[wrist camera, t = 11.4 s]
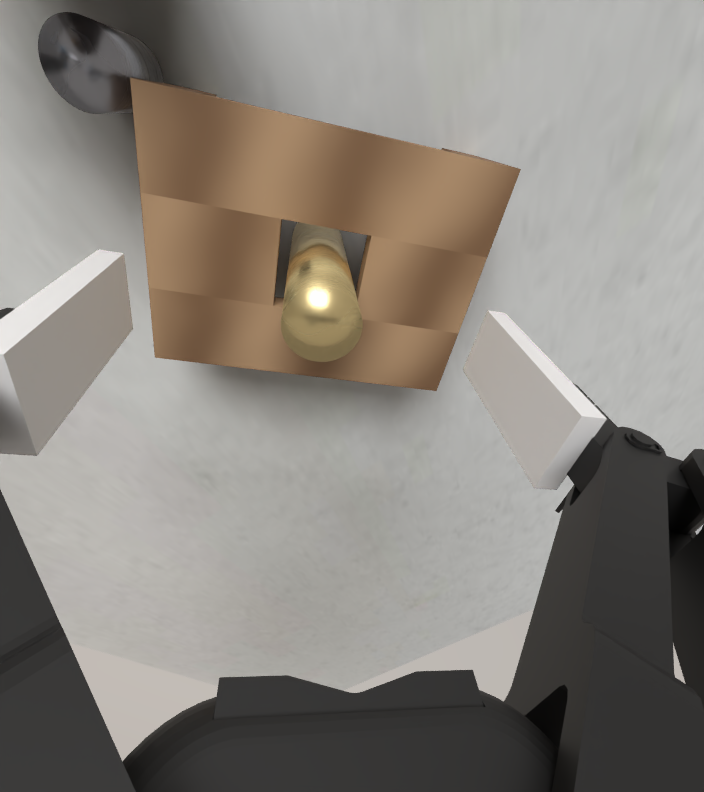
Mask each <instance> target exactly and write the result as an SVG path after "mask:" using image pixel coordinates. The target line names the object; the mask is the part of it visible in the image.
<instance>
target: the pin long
mask: <svg viewBox="0 0 704 792" xmlns="http://www.w3.org/2000/svg"><path fill="white" fill-rule="evenodd" d="M362 328H363V322H362V316H361V312H360V308H359V304H358V300H357V296H356V292H355V288H354V284H353V280H352V276H351V272H350V268H349V264H348V260H347V257H346V253H345V249H344V245H343V241H342V237H341V233H340V230H338V229H332V228H327V227H322V226H316V225H311V224H306V223H300V222H298V223H297V224H296V226H295V228H294V230H293V234H292V241H291V249H290V256H289V264H288V271H287V279H286V286H285V294H284V301H283V309H282V317H281V331H282V335H283V338H284V340H285V342H286V344H287V345H288V346H289V348H290V349H291V350H292V351H293V352H295V353H296V354H297V355H299V356H301V357H303V358H305V359H307V360H310V361H315V362H328V361H333V360H336V359H339V358H341V357H343V356H345V355H346V354H348V353H349V352H350V351H351V350H352V349H353V348H354V347H355V346H356V344H357V343H358V341H359V339H360V336H361V333H362Z"/></svg>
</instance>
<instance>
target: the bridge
mask: <svg viewBox="0 0 704 792" xmlns="http://www.w3.org/2000/svg"><path fill="white" fill-rule="evenodd" d="M130 83H131V94H132V105H133V117H134V128H135V139H136V150H137V161H138V173H139V184H140V195H141V206H142V217H143V229H144V240H145V251H146V262H147V273H148V285H149V296H150V307H151V318H152V330H153V341H154V352H155V357H156V358H164V359H173V360H181V361H189V362H198V363H206V364H214V365H223V366H231V367H240V368H248V369H256V370H265V371H273V372H281V373H290V374H298V375H307V376H315V377H323V378H332V379H340V380H348V381H357V382H365V383H374V384H382V385H390V386H399V387H407V388H415V389H424V390H432V391H437V388H438V385H439V383H440V380H441V377H442V375H443V372H444V370H445V367H446V364H447V362H448V359H449V356H450V354H451V351H452V349H453V346H454V343H455V341H456V338H457V335H458V333H459V330H460V327H461V325H462V322H463V320H464V317H465V314H466V312H467V309H468V306H469V304H470V301H471V299H472V296H473V293H474V291H475V288H476V285H477V283H478V280H479V278H480V275H481V272H482V270H483V267H484V264H485V262H486V259H487V257H488V254H489V251H490V249H491V246H492V243H493V241H494V238H495V236H496V233H497V230H498V228H499V225H500V222H501V220H502V217H503V214H504V212H505V209H506V207H507V204H508V201H509V199H510V196H511V193H512V191H513V188H514V186H515V183H516V180H517V178H518V175H519V172H520V170H521V169H518V168H515V167H511V166H508V165H505V164H501V163H498V162H494V161H491V160H488V159H484V158H481V157H477V156H474V155H469V154H465V153H461V152H457V151H452V150H448V149H444V148H442V150H439V149H435V148H431V147H427V146H422V145H418V144H414V143H410V142H405V141H401V140H397V139H393V138H388V137H384V136H380V135H376V134H371V133H367V132H363V131H359V130H354V129H350V128H346V127H342V126H337V125H333V124H329V123H325V122H320V121H316V120H312V119H307V118H303V117H299V116H295V115H290V114H286V113H282V112H278V111H273V110H269V109H265V108H261V107H256V106H252V105H248V104H244V103H239V102H235V101H231V100H227V99H222V98H218V97H216V95H215V94H211V93H206V92H202V91H198V90H194V89H190V88H185V87H181V86H177V85H172V84H166V83H160V82H154V81H148V80H142V79H136V78H130ZM282 219H284V220H290V221H295V222H300V223H306V224H311V225H316V226H322V227H327V228H332V229H338V230H343V231H348V232H354V233H359V234H364V235H367V239H366V244H365V249H364V254H363V258H362V263H361V268H360V273H359V278H358V282H357V287H356V296H357V300H358V304H359V308H360V312H361V316H362V322H363V328H362V333H361V336H360V339H359V341H358V343H357V344H356V346H355V347H354V348H353V349H352V350H351V351H350V352H349V353H348V354H346V355H345V356H343V357H341V358H339V359H336V360H333V361H328V362H315V361H310V360H307V359H305V358H303V357H301V356H299V355H297V354H296V353H295V352H293V351H292V350H291V349H290V348H289V346H288V345H287V344H286V342H285V340H284V338H283V335H282V331H281V317H282V309H283V301H284V298H278V297H275V288H276V278H277V267H278V256H279V245H280V235H281V224H282Z"/></svg>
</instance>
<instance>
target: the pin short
mask: <svg viewBox="0 0 704 792" xmlns="http://www.w3.org/2000/svg"><path fill="white" fill-rule="evenodd" d="M38 50H39V57H40V61H41V64H42V67H43V70H44V72H45V74H46V76H47V78H48V80H49V82H50V83H51V85H52V86H53V87H54V89H55V90H56V91H57V92H58V94H59V95H60V96H61V97H62V98H63V99H65V100H66V101H67V102H68V103H70V104H71V105H72V106H74V107H76V108H78V109H79V110H82V111H84V112H88V113H93V114H110V113H133V105H132V94H131V83H130V78H136V79H142V80H148V81H154V82H160V83H163V75H162V71H161V68H160V65H159V63H158V61H157V59H156V57H155V56H154V54H153V53H152V51H151V50H150V49H149V48H148V47H147V46H146V45H145V44H144V43H143V42H142V41H140V40H139V39H137V38H136V37H134V36H132V35H129V34H127V33H124V32H122V31H119V30H117V29H114V28H112V27H109V26H107V25H104V24H102V23H99V22H97V21H95V20H92V19H90V18H87V17H85V16H82V15H79V14H76V13H71V12H63V13H58V14H55V15H53V16H52V17H50V18H49V19H48V20H47V21H46V22H45V23H44V25H43V26H42V29H41V31H40V34H39V40H38Z"/></svg>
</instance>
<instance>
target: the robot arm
mask: <svg viewBox="0 0 704 792" xmlns="http://www.w3.org/2000/svg"><path fill="white" fill-rule="evenodd" d="M132 329H133V325H132V317H131V309H130V300H129V292H128V284H127V276H126V267H125V259H124V253H118V252H112V251H105V250H99V249H98V250H97V251H95V252H94V253H93V254H91V255H90V256H88V257H87V258H86V259H84V260H83V261H81V262H80V263H79V264H77V265H76V266H74V267H73V268H72V269H70V270H69V271H67V272H66V273H65V274H63V275H62V276H60V277H59V278H58V279H56V280H55V281H53V282H52V283H51V284H49V285H48V286H46V287H45V288H44V289H42V290H41V291H39V292H38V293H37V294H35V295H34V296H32V297H31V298H30V299H28V300H27V301H25V302H24V303H23V304H21V305H20V306H18V307H17V308H16V309H13V308H6V309H3V310H0V453H2V454H18V455H33V456H37V455H38V454H39V453H40V451H41V450H42V449H43V447H44V446H45V445H46V443H47V442H48V441H49V439H50V438H51V437H52V435H53V434H54V433H55V431H56V430H57V429H58V427H59V426H60V425H61V424H62V422H63V421H64V420H65V418H66V417H67V416H68V414H69V413H70V412H71V410H72V409H73V408H74V406H75V405H76V404H77V402H78V401H79V400H80V398H81V397H82V396H83V394H84V393H85V392H86V390H87V389H88V388H89V386H90V385H91V384H92V382H93V381H94V380H95V378H96V377H97V376H98V374H99V373H100V372H101V370H102V369H103V368H104V366H105V365H106V364H107V362H108V361H109V360H110V358H111V357H112V356H113V355H114V353H115V352H116V351H117V349H118V348H119V347H120V345H121V344H122V343H123V341H124V340H125V339H126V337H127V336H128V335H129V333H130V332H131V331H132ZM463 371H464V372H465V374H466V376H467V377H468V379H469V381H470V382H471V384H472V386H473V387H474V389H475V391H476V392H477V394H478V396H479V397H480V399H481V400H482V402H483V404H484V405H485V407H486V409H487V410H488V412H489V414H490V415H491V417H492V419H493V420H494V422H495V424H496V425H497V427H498V429H499V430H500V432H501V434H502V435H503V437H504V439H505V440H506V442H507V444H508V445H509V447H510V449H511V450H512V452H513V454H514V455H515V457H516V459H517V460H518V462H519V464H520V465H521V467H522V469H523V470H524V472H525V474H526V475H527V477H528V479H529V480H530V482H531V484H532V485H533V487H534V488H537V489H553V490H557V489H558V487H559V486H560V485H561V483H562V482H563V480H564V479H565V478H566V476H567V475H568V476H569V478H570V479H571V480H572V482H573V483H574V486H573V487H572V489H571V490H570V491H569V493H568V494H567V495H566V497H565V498H564V500H563V501H562V502H561V504H560V505H559V506H558V508H557V509H556V510H555V511H556V512H558V513H559V512H560V511H561V510H563V511H562V515H561V518H560V522H559V525H558V529H557V532H556V536H555V539H554V542H553V546H552V549H551V553H550V556H549V560H548V563H547V567H546V570H545V573H544V577H543V580H542V584H541V587H540V591H539V594H538V598H537V601H536V604H535V608H534V611H533V615H532V619H531V622H530V625H529V629H528V632H527V636H526V639H525V642H524V646H523V650H522V653H521V656H520V660H519V663H518V666H517V670H516V673H515V677H514V680H513V683H512V687H511V689H510V691H509V694H508V696H507V697H506V699H505V701H504V702H503V701H501V700H500V699H498V698H496V697H494V696H492V695H490V694H487V693H485V692H483V691H480V690H479V689H478V686H477V683H476V679H475V676H474V673H473V670H453V671H421V672H414V673H411V674H409V675H406V676H403V677H401V678H398V679H396V680H393V681H390V682H387V683H385V684H382V685H379V686H377V687H374V688H371V689H369V690H366V691H363V692H360V693H349V692H345V691H342V690H338V689H335V688H331V687H327V686H324V685H320V684H316V683H313V682H309V681H305V680H302V679H298V678H295V677H291V676H256V677H224V678H219V685H218V692H217V697H215V698H212V699H209V700H206V701H203V702H201V703H198V704H196V705H195V706H193V707H190V708H188V709H186V710H184V711H182V712H181V713H179V714H178V715H176V716H175V717H173V718H171V719H170V720H168V721H167V722H165V723H164V724H163V725H161V726H160V727H159V728H158V729H157V730H155V731H154V732H153V733H151V734H150V735H149V736H148V737H146V738H145V739H144V740H143V741H142V742H141V743H140V744H139V745H138V746H137V747H136V748H135V749H134V750H133V751H132V752H131V753H130V754H129V755H128V756H127V757H126V758H125V759H124V761H123V762H122V760H121V758H120V755H119V753H118V751H117V749H116V747H115V744H114V742H113V740H112V738H111V736H110V733H109V731H108V729H107V726H106V724H105V722H104V720H103V717H102V715H101V713H100V711H99V708H98V706H97V704H96V702H95V700H94V697H93V695H92V693H91V691H90V688H89V686H88V684H87V682H86V680H85V677H84V675H83V673H82V670H81V668H80V666H79V664H78V662H77V659H76V657H75V655H74V653H73V650H72V648H71V646H70V644H69V641H68V639H67V637H66V635H65V633H64V630H63V628H62V627H61V624H60V622H59V620H58V618H57V616H56V613H55V611H54V609H53V607H52V604H51V602H50V600H49V598H48V595H47V593H46V591H45V589H44V586H43V584H42V582H41V580H40V577H39V575H38V573H37V571H36V568H35V566H34V564H33V562H32V560H31V557H30V555H29V553H28V551H27V548H26V546H25V544H24V542H23V539H22V537H21V535H20V533H19V530H18V528H17V526H16V524H15V521H14V519H13V517H12V515H11V512H10V510H9V508H8V506H7V503H6V501H5V499H4V497H3V495H2V492H1V490H0V792H704V525H703V524H704V450H703V449H694V450H693V451H692V452H691V453H690V454H689V455H688V457H687V458H686V459H685V460H684V461H681V460H678V459H675V458H671V457H668V456H666V454H665V451H664V449H663V448H662V447H661V446H660V445H659V444H658V443H657V442H656V441H655V440H653V439H652V438H651V437H649V436H647V435H645V434H643V433H642V432H640V431H637V430H634V429H631V428H627V427H617V426H616V425H615V424H614V423H613V422H612V421H611V420H610V419H609V418H608V417H607V416H606V415H605V414H604V413H603V412H602V411H601V410H600V408H599V407H598V406H597V405H594V404H595V403H594V402H593V401H592V400H591V399H590V398H588V397H587V395H586V394H585V393H584V392H583V391H582V390H581V389H580V388H579V387H578V386H577V385H575V384H574V383H572V382H571V381H570V380H569V379H568V378H567V377H566V376H565V375H564V374H563V373H562V372H561V371H560V369H559V368H558V367H557V366H556V365H555V364H554V363H553V362H552V361H551V360H550V359H549V358H548V357H547V356H546V355H545V354H544V353H543V352H542V351H541V350H540V349H539V348H538V347H537V346H536V345H535V344H534V343H533V341H532V340H531V339H530V338H529V337H528V336H527V335H526V334H525V333H524V332H523V331H522V330H521V329H520V328H519V327H518V326H517V325H516V324H515V323H514V322H513V321H512V320H511V319H510V318H509V317H508V316H507V315H506V313H501V312H495V311H488V310H487V313H486V315H485V318H484V320H483V322H482V325H481V327H480V330H479V332H478V335H477V337H476V339H475V342H474V344H473V347H472V349H471V352H470V354H469V356H468V359H467V361H466V364H465V366H464V368H463ZM702 525H703V527H702V530H701V531H700V532H699V533H698V534H697V535H696V533H695V531H696V530H697V529H699V528H700V527H701V526H702ZM673 643H674V646H675V650H676V653H677V656H678V659H679V663H680V666H681V670H682V673H683V676H684V679H685V683H686V684H684V683H683V682H681V681H680V680H678V679H677V678H675V675H674V660H673Z"/></svg>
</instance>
